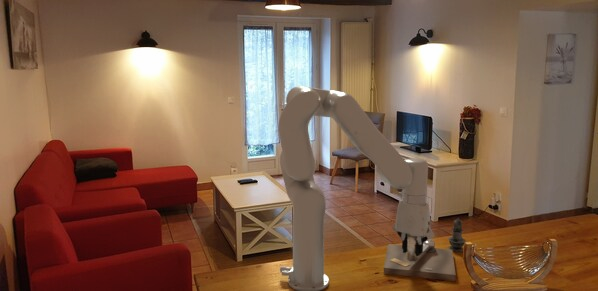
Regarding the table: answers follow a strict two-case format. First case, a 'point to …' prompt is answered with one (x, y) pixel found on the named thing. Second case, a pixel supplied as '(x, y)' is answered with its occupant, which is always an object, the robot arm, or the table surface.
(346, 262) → the table surface
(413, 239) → the lever
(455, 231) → the dark grey tower figurine
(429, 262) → the lever board
